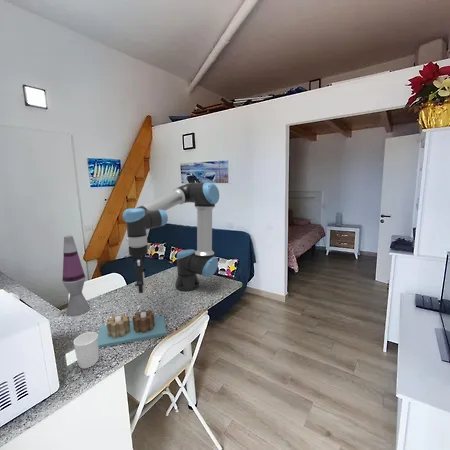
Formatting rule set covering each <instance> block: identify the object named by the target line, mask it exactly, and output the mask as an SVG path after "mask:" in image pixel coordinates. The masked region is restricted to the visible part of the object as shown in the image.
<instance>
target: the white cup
mask: <svg viewBox="0 0 450 450" xmlns="http://www.w3.org/2000/svg"><path fill="white" fill-rule="evenodd" d="M98 334H99V333H98V332H94V331H87V332H84V333H81V334H80V335H78V336H77V337H75V338H74V340H73V347H74V352H75V355H76V356H75V357H76V360H77V364H78V367H79V368H80V369H84V370H85V369H89V367H90V368H91V366H92V367H93V365H94V364H95V363H96V362H97V361H98V362H99V360H98V359H100V355H99V351H100V349H99V345H98ZM98 362H97V363H98ZM97 363H96V364H97ZM96 364H95V365H96ZM95 365H94V366H95Z"/></svg>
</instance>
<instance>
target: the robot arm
mask: <svg viewBox="0 0 450 450" xmlns="http://www.w3.org/2000/svg"><path fill="white" fill-rule="evenodd" d="M219 200H220V190H219V188H218V187H217V185H216V184H214V183H213V182H189V183H185V184H183V185H182V184H181V185H180V186H178V187H176V188H173V190H172V191H171V192H169V193H167V194H165V195H162V196H159V197H157V198H156V199H153V200H151V201H148V202H147V203H145V204H142V205H140V206H137V207H136V208H132V207H129V208H127V209H125V210H124V211H123V214H122V219H123V222H125V223H126V224H125V226H126V233H127V238H126V241H127V243H128V246H129V247H128V255H129V256H131V257H134V259H133V263H134V271H135V273H136V274H135V275H136V283H135V284H134V286H135V287H136V290H137V291H136V292H137V300H138V301H141V300H145V299H146V294H145V285H146V281H145V272H146V268H145V265H144V264H145V257H144V256H146V255H147V254H148V253H149V252H148V251H149V249H148V245H147V244H148V237H147V236H148V234H147V230H150V229H155V228H160V227H163V226H165V225H166V224H167V223H168V221H169V219H168V214H167V212H166V211H167V210H169V209H171V208H174V207H175V206H178V205H183V204H187V203H194V208H195V209H196V215H197V217H196V220H197V221H196V224H197V226H196V227H197V228H196V231H197V232H196V238H197V239H196V241H197V242H196V247H197V248H196V250H195V249H190V248H189V249H184V250H180V251H178V252H177V254H176V268H177V270H176V272H177V275H176V279H175V284H174V285H175V286H174V288H175V289H176V290H178V291H181V292H191V291H195V290H196V289H198V288H199V287H200V280H199V278H198V275H200V276H203V277H205V276H206V277H211V276H213V275H214V274H215V273H216V272H217V270H218V266H219V259H218V257H216V256H215V252H214V251H213V209H215V208H216V204H217V203H218V202H219Z"/></svg>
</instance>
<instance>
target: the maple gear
mask: <svg viewBox="0 0 450 450" xmlns="http://www.w3.org/2000/svg"><path fill="white" fill-rule="evenodd" d="M116 316H121V321H119V322H115V317H116ZM106 326H107V331H108V336H109V337H110V336H112V338H117V337H119V336H120V337H123V336H125V334H126V333H129V332H130V315H128V314H125V313H121V314H114V315H112V317H108V318H107V320H106Z"/></svg>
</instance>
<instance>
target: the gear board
mask: <svg viewBox="0 0 450 450" xmlns="http://www.w3.org/2000/svg"><path fill="white" fill-rule="evenodd" d="M140 312H141V313H140V314H141V318H144V317H146V312H142V311H140ZM119 321H121V316H118V315H117V316H116V317H115V322H119ZM154 323H155V326H154V327H153V330H151V331H149V330H148V331H146V333H142V332H139V333H136V332H135V330H134V328H133V320H132V321H130V332H129V333H126V334H125V336H123V337H120V336H119V337H117V338H112V336H110V337H109V336H108V331H107V325H102V326H100V327H99V331H98V333H97V334H98V345H99V348H100V349H103V348H102V347H105V348H108V347H107V346H110V347H113V346H112V345H115V346H118V345H117V344H120V345H122V344H121V343H125V344H128V343H127V342H131V343H135V341H136V342H139V341H145V340H151V339H155V338H160V337H166V336H167V330H166V323H165V317H164V315H159V316H154Z"/></svg>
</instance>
